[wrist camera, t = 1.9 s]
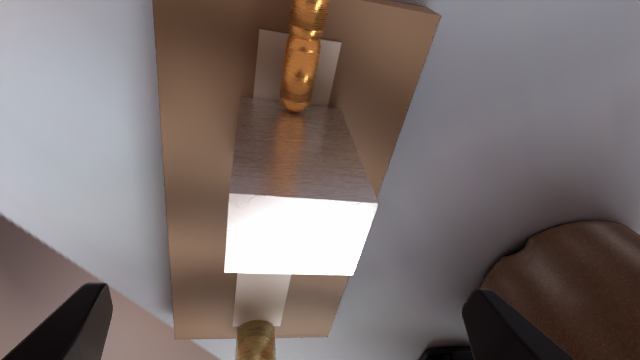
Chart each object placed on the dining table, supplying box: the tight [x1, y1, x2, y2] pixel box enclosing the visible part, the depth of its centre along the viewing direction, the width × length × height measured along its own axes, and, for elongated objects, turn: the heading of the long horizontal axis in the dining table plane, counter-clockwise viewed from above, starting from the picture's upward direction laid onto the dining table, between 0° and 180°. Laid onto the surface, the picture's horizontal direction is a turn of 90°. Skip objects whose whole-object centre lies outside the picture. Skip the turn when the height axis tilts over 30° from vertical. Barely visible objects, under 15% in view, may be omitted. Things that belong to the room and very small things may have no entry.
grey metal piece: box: [224, 0, 379, 275], centre depth 11 cm, size 8×4×6 cm, turn 169°
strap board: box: [153, 0, 441, 339], centre depth 19 cm, size 21×10×2 cm, turn 169°
